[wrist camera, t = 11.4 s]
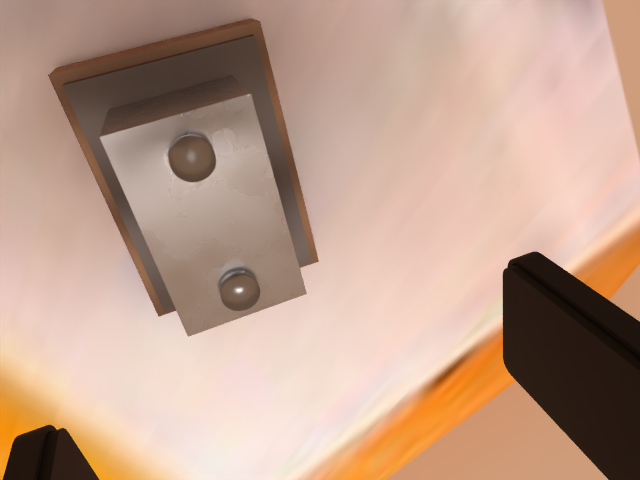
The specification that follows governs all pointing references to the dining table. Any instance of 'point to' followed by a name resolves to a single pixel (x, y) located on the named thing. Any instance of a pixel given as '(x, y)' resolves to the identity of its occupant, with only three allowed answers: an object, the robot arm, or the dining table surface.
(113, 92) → the stand
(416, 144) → the dining table surface
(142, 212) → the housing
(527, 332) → the robot arm
